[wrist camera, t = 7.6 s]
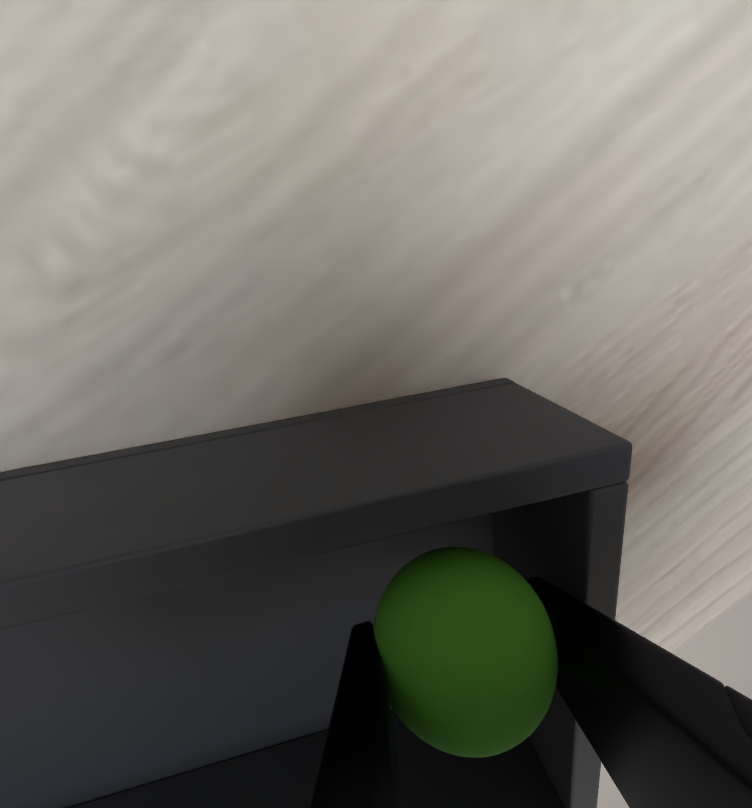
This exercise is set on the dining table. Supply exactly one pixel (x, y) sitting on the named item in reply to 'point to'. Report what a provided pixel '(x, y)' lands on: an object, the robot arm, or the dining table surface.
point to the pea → (466, 651)
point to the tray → (281, 597)
